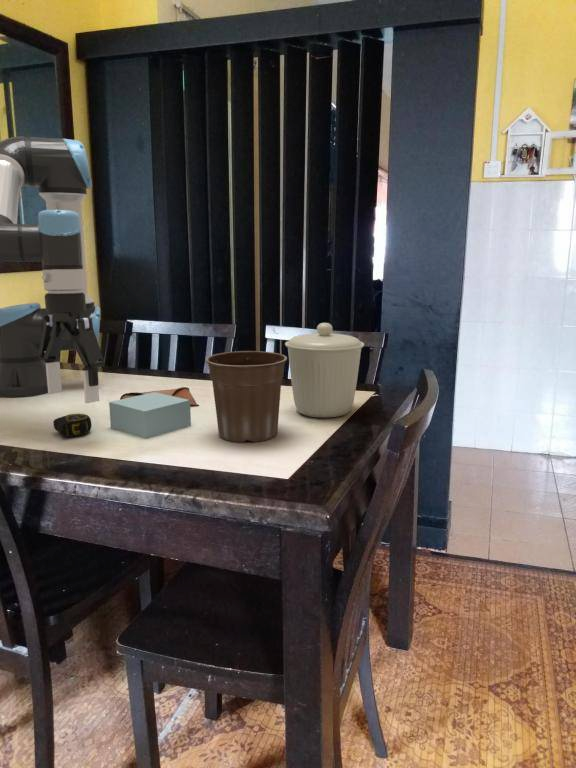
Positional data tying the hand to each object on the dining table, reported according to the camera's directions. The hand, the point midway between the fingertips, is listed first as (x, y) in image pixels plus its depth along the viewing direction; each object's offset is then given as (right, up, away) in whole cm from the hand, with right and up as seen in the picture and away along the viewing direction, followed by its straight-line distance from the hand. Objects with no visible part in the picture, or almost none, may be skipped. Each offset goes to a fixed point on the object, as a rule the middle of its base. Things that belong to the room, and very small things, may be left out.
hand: (73, 397), depth 121 cm
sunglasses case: (+13, -3, +24) cm, 28 cm away
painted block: (+14, -7, +7) cm, 17 cm away
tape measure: (-1, -8, +1) cm, 8 cm away
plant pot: (+35, -8, +2) cm, 36 cm away
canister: (+52, -4, +19) cm, 55 cm away
